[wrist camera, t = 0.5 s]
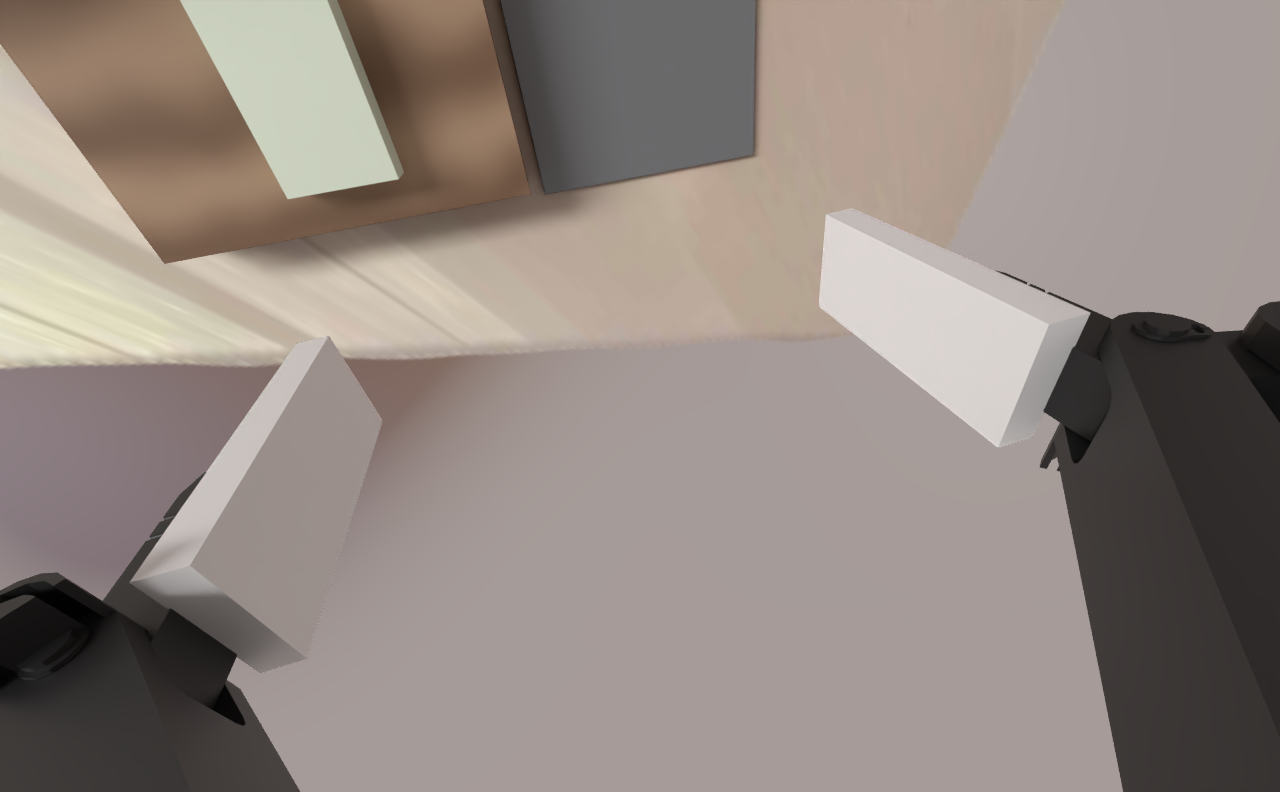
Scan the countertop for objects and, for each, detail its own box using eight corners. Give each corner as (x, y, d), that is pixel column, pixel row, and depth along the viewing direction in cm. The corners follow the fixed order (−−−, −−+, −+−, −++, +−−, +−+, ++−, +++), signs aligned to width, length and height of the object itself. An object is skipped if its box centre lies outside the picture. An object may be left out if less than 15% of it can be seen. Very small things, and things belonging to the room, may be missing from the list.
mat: (471, -123, 25) (471, -125, 25) (754, -155, 27) (757, -157, 27) (545, 193, 35) (545, 194, 35) (750, 153, 37) (753, 154, 37)
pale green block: (195, -8, 23) (173, -13, 21) (327, -25, 23) (314, -31, 22) (299, 191, 28) (287, 199, 27) (404, 172, 29) (398, 179, 27)
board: (4, -40, 23) (-73, -55, 20) (459, -94, 26) (453, -115, 23) (198, 243, 32) (164, 263, 29) (527, 181, 34) (530, 193, 31)
